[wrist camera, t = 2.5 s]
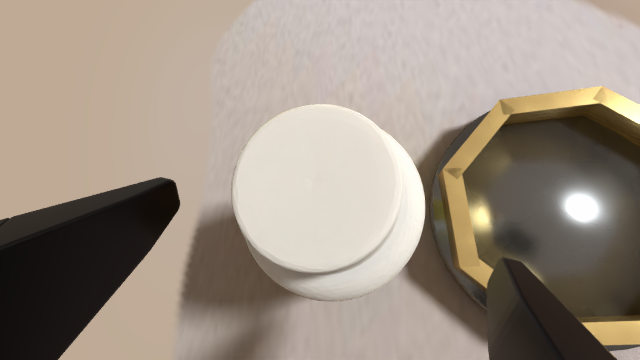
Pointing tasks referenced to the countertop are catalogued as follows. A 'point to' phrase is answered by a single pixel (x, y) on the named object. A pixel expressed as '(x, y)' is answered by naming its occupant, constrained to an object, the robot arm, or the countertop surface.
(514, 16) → the countertop surface
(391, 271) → the supplement bottle
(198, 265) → the countertop surface
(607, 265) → the black and gold tray
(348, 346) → the countertop surface
